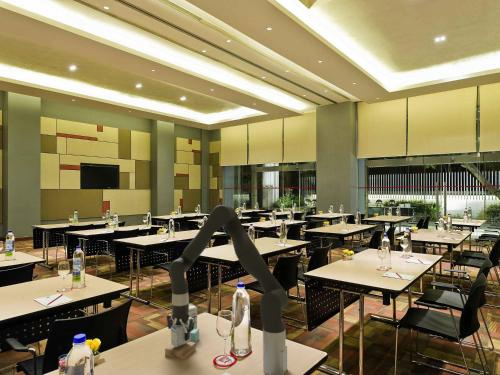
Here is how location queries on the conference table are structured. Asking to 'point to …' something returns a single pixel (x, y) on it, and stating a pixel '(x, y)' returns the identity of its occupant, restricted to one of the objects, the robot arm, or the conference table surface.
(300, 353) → the conference table surface
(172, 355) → the walnut slab
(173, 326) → the medicine box
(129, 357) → the conference table surface
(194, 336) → the teal cube
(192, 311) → the ink box
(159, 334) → the conference table surface
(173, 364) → the conference table surface
